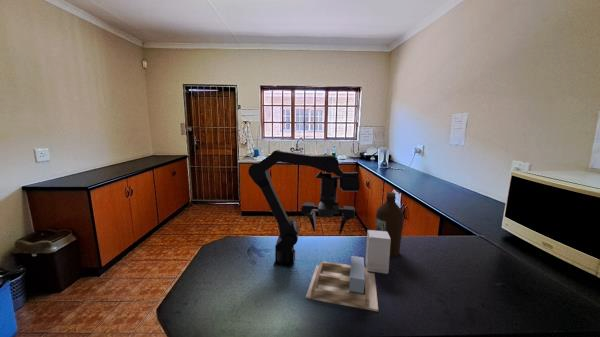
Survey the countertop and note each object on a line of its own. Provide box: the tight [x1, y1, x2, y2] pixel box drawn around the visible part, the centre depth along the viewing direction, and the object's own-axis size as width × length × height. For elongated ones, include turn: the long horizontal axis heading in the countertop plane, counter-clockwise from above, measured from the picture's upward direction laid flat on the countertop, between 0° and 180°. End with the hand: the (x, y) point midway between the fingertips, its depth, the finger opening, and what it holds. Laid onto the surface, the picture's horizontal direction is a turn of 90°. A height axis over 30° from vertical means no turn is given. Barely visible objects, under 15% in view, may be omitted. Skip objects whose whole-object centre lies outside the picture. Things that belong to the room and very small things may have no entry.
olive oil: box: [375, 191, 405, 258], centre depth 98 cm, size 11×11×25 cm
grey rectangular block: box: [349, 255, 365, 295], centre depth 74 cm, size 4×13×6 cm, turn 166°
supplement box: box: [365, 229, 391, 275], centre depth 86 cm, size 7×7×13 cm
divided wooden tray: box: [305, 260, 379, 312], centre depth 76 cm, size 20×18×3 cm
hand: (327, 232), depth 87 cm, fingers open, 9 cm apart
